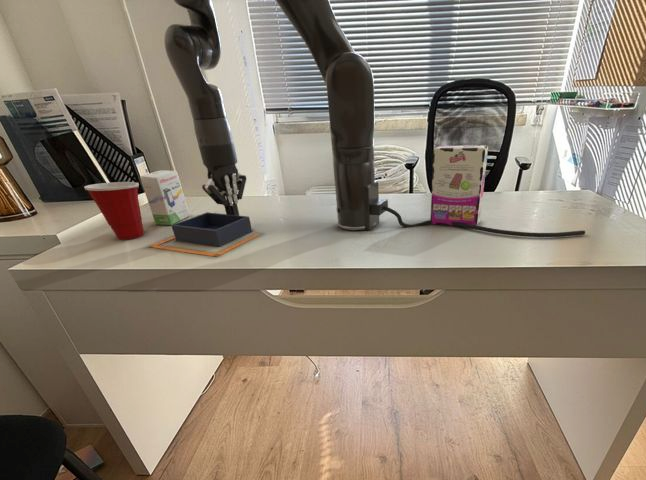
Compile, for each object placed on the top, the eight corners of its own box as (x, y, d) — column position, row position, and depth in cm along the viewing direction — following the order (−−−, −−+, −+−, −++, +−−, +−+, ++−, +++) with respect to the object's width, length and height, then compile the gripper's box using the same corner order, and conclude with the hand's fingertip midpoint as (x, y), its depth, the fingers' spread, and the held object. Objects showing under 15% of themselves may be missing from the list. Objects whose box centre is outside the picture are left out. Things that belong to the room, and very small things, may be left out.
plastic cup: (165, 231, 96) (148, 179, 89) (127, 245, 88) (104, 189, 81) (136, 227, 100) (117, 177, 93) (96, 240, 92) (72, 186, 85)
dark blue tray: (252, 231, 93) (249, 216, 91) (219, 246, 85) (215, 230, 83) (210, 226, 98) (207, 212, 96) (176, 240, 89) (171, 225, 87)
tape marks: (260, 234, 91) (260, 234, 91) (216, 256, 80) (216, 256, 80) (197, 227, 97) (196, 227, 97) (148, 247, 86) (148, 246, 86)
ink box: (174, 215, 107) (159, 169, 101) (191, 216, 106) (177, 169, 100) (154, 225, 101) (137, 176, 94) (172, 225, 100) (155, 176, 93)
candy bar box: (480, 221, 92) (489, 144, 83) (476, 228, 88) (486, 148, 79) (434, 218, 96) (438, 144, 86) (429, 224, 92) (432, 147, 83)
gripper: (206, 146, 80) (227, 229, 90) (248, 137, 89) (262, 214, 99) (180, 145, 82) (203, 226, 92) (223, 137, 92) (240, 211, 102)
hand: (234, 220), depth 96 cm, fingers closed
